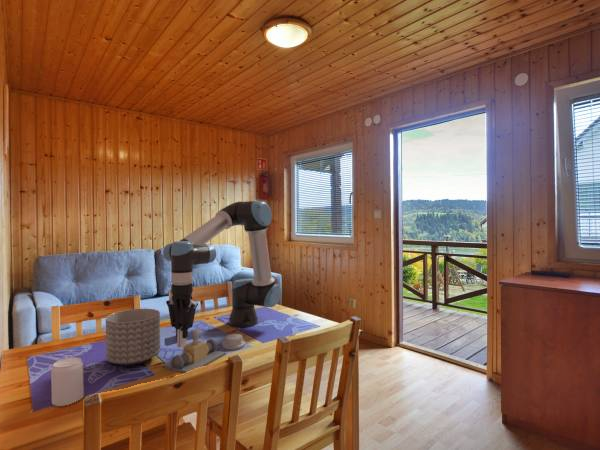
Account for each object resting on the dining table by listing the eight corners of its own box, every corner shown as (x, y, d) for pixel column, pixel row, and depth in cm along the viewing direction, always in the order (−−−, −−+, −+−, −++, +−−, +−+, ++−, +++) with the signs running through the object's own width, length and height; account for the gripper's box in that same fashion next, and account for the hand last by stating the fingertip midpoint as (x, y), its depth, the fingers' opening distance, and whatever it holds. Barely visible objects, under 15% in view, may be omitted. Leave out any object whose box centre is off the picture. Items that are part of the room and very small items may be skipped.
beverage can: (61, 394, 111) (61, 357, 110) (88, 393, 111) (88, 356, 111) (45, 408, 103) (44, 368, 102) (74, 407, 103) (73, 367, 103)
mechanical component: (218, 349, 149) (240, 351, 147) (218, 339, 149) (240, 341, 146) (227, 341, 158) (248, 343, 156) (227, 331, 158) (248, 333, 156)
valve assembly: (199, 348, 149) (199, 327, 149) (225, 354, 143) (225, 332, 143) (162, 366, 131) (161, 343, 131) (190, 374, 125) (190, 349, 125)
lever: (196, 335, 139) (196, 329, 139) (201, 337, 137) (200, 331, 137) (163, 344, 129) (163, 338, 129) (167, 346, 127) (167, 340, 127)
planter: (105, 376, 123) (104, 325, 123) (107, 356, 140) (106, 312, 140) (162, 365, 132) (162, 318, 132) (157, 348, 149) (157, 306, 148)
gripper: (203, 282, 130) (203, 345, 131) (174, 280, 135) (174, 340, 136) (190, 286, 123) (189, 352, 124) (160, 283, 128) (160, 347, 129)
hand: (181, 346), depth 130 cm, fingers closed
